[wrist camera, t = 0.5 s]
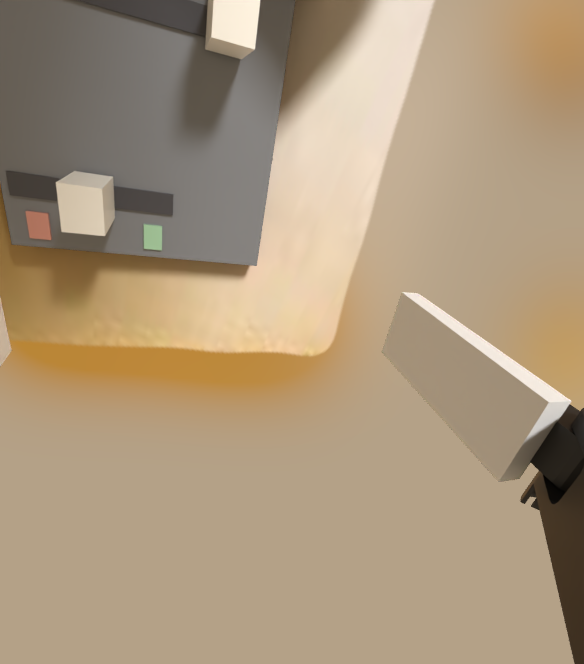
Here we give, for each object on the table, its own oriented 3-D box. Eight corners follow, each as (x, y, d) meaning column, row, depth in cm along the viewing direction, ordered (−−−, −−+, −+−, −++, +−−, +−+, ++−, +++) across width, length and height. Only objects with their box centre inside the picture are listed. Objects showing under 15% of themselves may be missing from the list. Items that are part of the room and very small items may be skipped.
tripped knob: (74, 170, 26) (55, 182, 22) (113, 176, 27) (102, 188, 23) (78, 213, 27) (61, 231, 23) (115, 217, 28) (104, 236, 24)
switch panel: (-47, -155, 19) (-70, -182, 17) (292, -29, 25) (301, -40, 23) (20, 236, 29) (10, 245, 27) (252, 258, 35) (256, 266, 33)
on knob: (208, -9, 23) (215, -35, 19) (247, 3, 24) (262, -19, 20) (205, 49, 24) (211, 37, 20) (241, 59, 25) (254, 49, 21)
